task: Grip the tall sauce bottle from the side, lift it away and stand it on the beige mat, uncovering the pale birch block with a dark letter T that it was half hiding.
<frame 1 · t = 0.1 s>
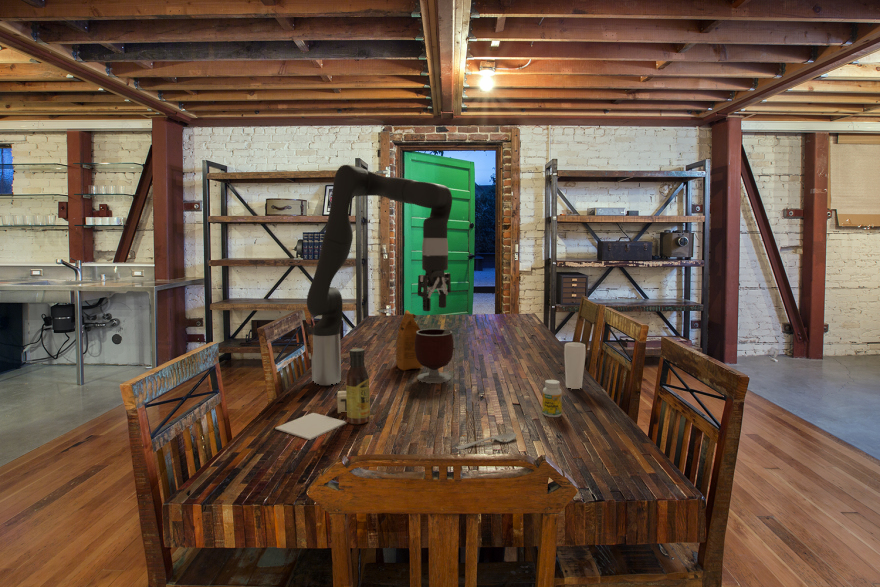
hand: (434, 309, 138), 29 cm above the table, tool pointing down, fingers open, 8 cm apart
sauce bottle: (358, 421, 128), on the table
spoon: (479, 446, 114), on the table
mate gourd: (436, 379, 169), on the table
coffee package: (409, 367, 185), on the table
supplement bottle: (551, 415, 134), on the table
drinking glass: (573, 388, 158), on the table
letter block: (346, 409, 137), on the table
beige mat: (311, 426, 125), on the table
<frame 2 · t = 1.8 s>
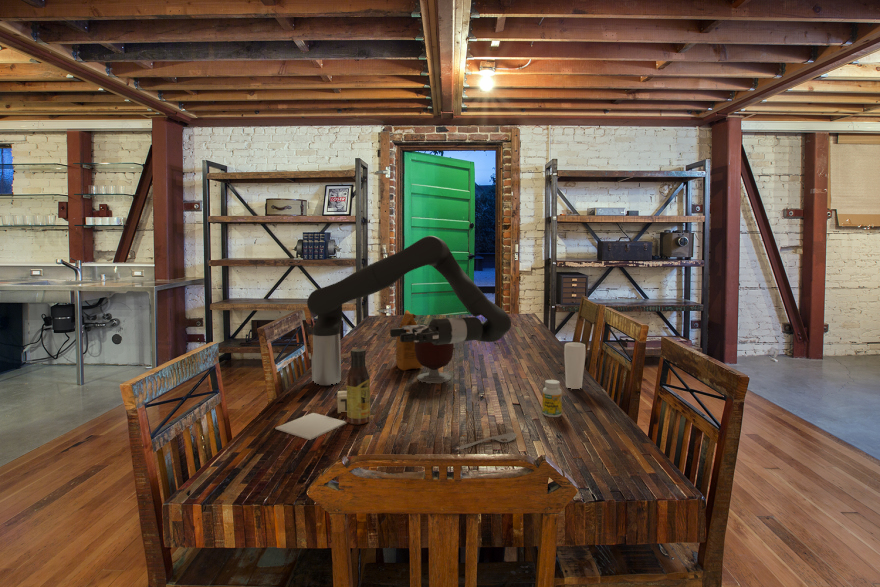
hand: (395, 335, 130), 23 cm above the table, tool horizontal, fingers open, 8 cm apart
nothing on the table moved.
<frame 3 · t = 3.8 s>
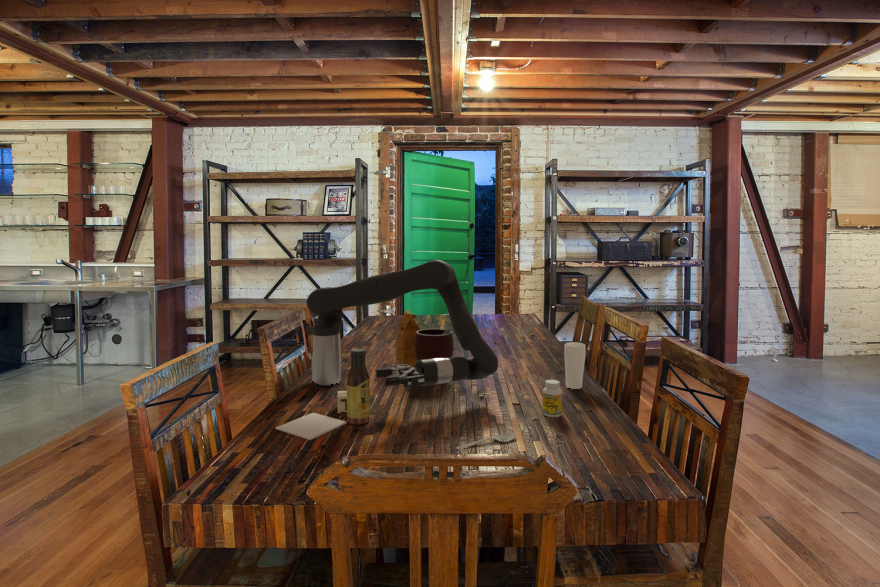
hand: (380, 377, 130), 11 cm above the table, tool horizontal, fingers open, 8 cm apart
nothing on the table moved.
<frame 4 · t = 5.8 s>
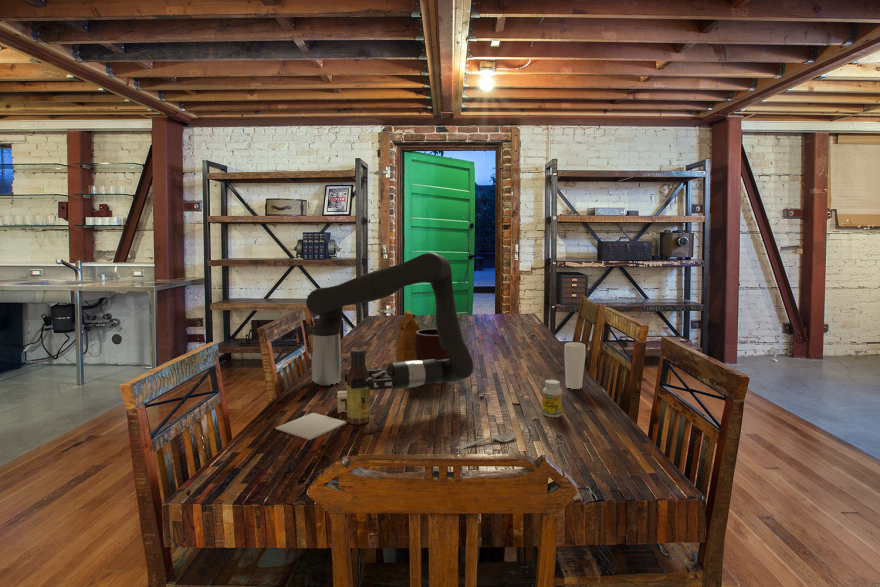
hand: (347, 381, 126), 12 cm above the table, tool horizontal, fingers closed on sauce bottle, 6 cm apart
sauce bottle: (358, 421, 128), on the table, touching gripper
everything else where it was.
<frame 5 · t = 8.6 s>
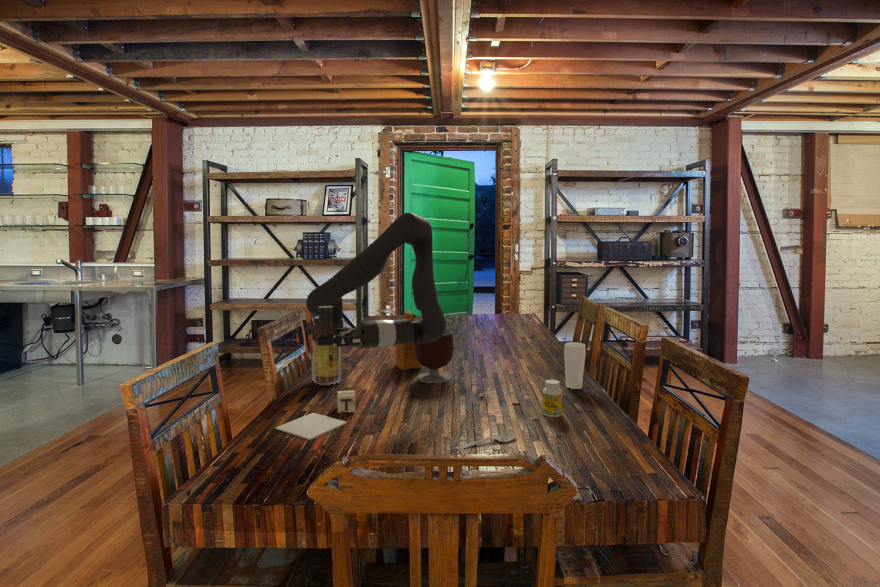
hand: (315, 338, 122), 24 cm above the table, tool horizontal, fingers closed on sauce bottle, 6 cm apart
sauce bottle: (327, 381, 125), point 12 cm above the table, touching gripper
everything else where it was.
when the fingers open (13 cm above the table, at t = 11.5 s): sauce bottle drops 1 cm, resting on beige mat.
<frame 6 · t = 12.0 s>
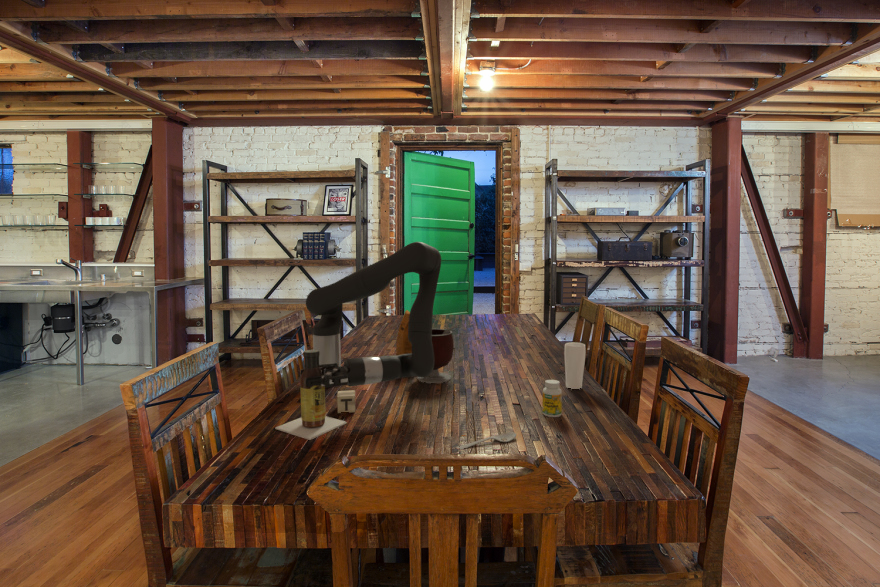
hand: (302, 377, 122), 13 cm above the table, tool horizontal, fingers open, 8 cm apart
sauce bottle: (314, 424, 125), resting on beige mat
everything else where it was.
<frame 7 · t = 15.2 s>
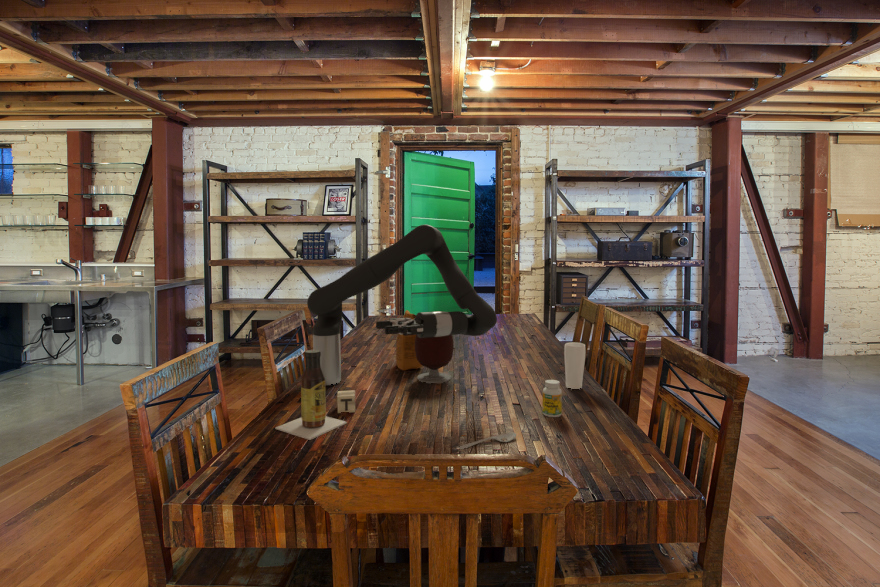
hand: (380, 327, 132), 25 cm above the table, tool horizontal, fingers open, 8 cm apart
nothing on the table moved.
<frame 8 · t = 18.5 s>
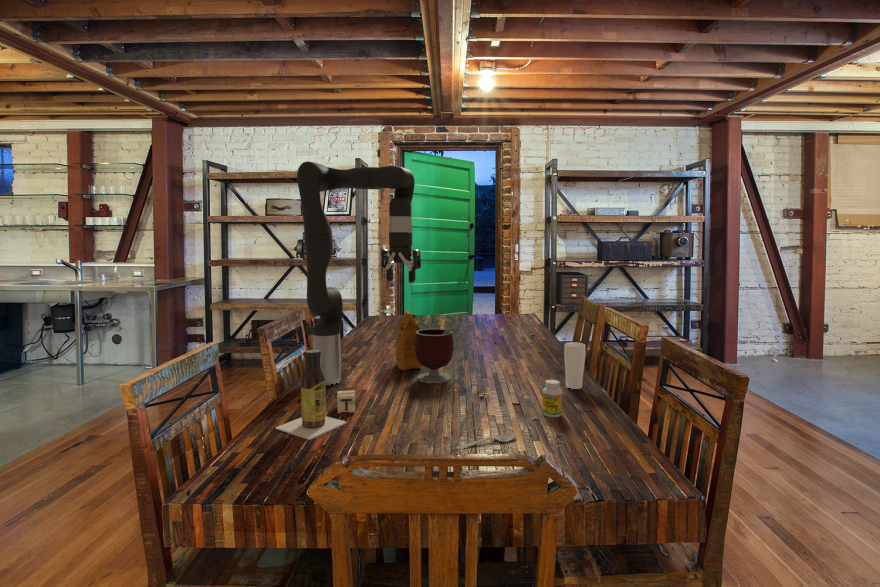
hand: (400, 282, 151), 36 cm above the table, tool pointing down, fingers open, 8 cm apart
nothing on the table moved.
at the end: sauce bottle inside the target area on the beige mat (0.6 cm from its centre), point 0.2 cm above the beige mat's base; sauce bottle tilted 0°; letter block moved 0.1 cm from its start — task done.
